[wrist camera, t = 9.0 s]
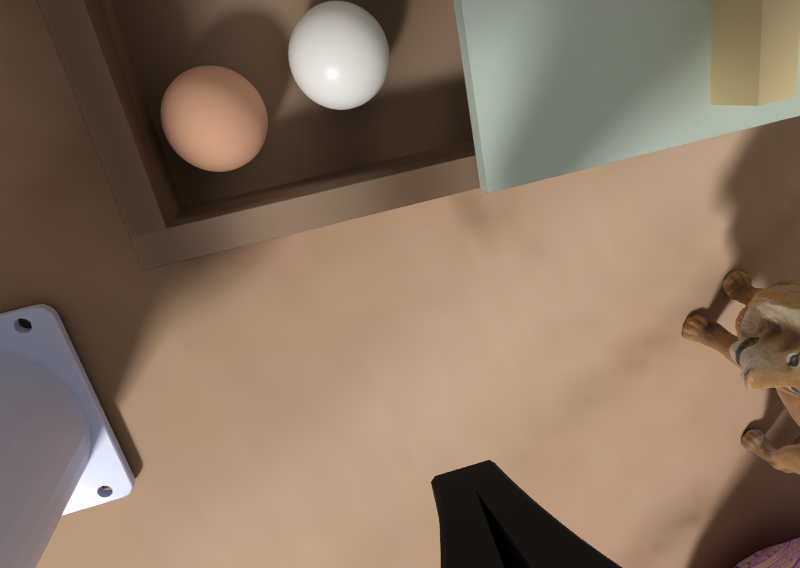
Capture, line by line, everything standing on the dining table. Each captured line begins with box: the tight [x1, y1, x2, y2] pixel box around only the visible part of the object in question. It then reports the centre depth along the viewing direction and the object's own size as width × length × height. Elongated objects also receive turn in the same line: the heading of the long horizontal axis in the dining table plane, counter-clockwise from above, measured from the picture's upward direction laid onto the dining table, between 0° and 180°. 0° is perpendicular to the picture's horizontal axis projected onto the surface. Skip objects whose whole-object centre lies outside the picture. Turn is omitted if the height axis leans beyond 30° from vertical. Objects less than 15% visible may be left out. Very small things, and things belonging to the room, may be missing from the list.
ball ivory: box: [288, 1, 390, 110], centre depth 16 cm, size 3×3×3 cm
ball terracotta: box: [160, 65, 268, 172], centre depth 16 cm, size 3×3×3 cm
